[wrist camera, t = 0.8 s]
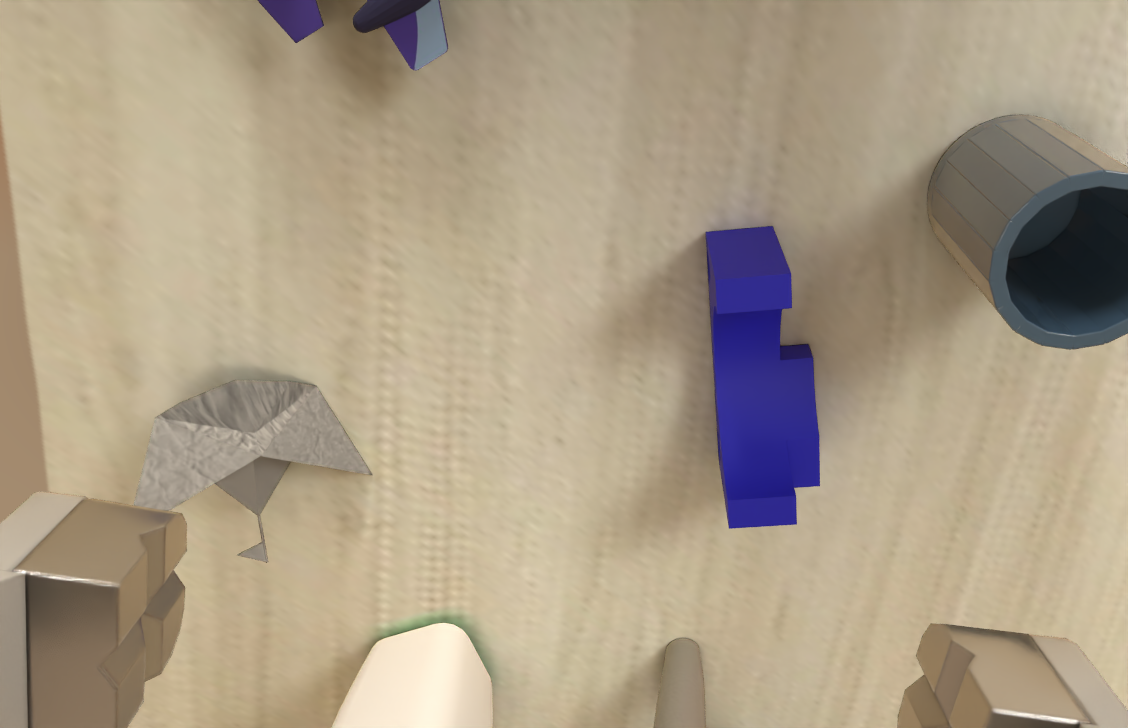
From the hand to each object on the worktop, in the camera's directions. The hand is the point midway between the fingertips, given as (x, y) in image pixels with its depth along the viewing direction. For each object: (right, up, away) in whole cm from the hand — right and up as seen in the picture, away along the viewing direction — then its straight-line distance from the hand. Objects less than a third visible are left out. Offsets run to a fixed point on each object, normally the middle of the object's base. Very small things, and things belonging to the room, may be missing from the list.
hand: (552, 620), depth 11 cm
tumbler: (+19, +10, +34) cm, 41 cm away
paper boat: (-16, -1, +42) cm, 45 cm away
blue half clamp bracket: (+9, +4, +38) cm, 40 cm away
